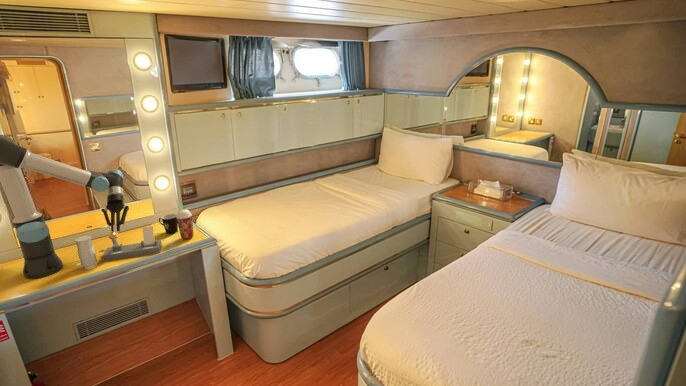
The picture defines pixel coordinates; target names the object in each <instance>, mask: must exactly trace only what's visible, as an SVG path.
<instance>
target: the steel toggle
mask: <svg viewBox="0 0 686 386" xmlns="http://www.w3.org/2000/svg"><path fill="white" fill-rule="evenodd" d="M116 237H117V234H116V233H114V232H112V231H111V232H109V233H108V239H110V240H111V242H112V246H113V245H114V247H115V250H119V245H120V244H119V241H118V240H117V239H118V238H116Z"/></svg>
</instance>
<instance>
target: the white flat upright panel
mask: <svg viewBox="0 0 686 386" xmlns="http://www.w3.org/2000/svg"><path fill="white" fill-rule="evenodd" d="M141 228H142V235H143V236H142V239H143V242H144V245H145V244H152V243H155V239H156V238H155V232H154V231H155V230H154V226H145V227H141Z"/></svg>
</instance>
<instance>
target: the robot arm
mask: <svg viewBox="0 0 686 386" xmlns="http://www.w3.org/2000/svg"><path fill="white" fill-rule="evenodd" d="M22 168H23V169H26V170H30V171H33V172H36V173H40V174H42V175H43V174H44V175H46V176H50V177H52V178H56V179H60V180H63V181H67V182H70V183H73V184H76V185H79V186H82V187H84V188H85V187H86V188H89V189H92V190H93V191H95V192H102V193H103V192H105V191H107V195H106V196H107V197H106V201H107V202H106V203H107V204H106V205H105V208H102V209H101V208H100V209H101V212H102V214H103V217H104V219H105V222H106V225H107V226H109V227H111V229H110V231H111V232H114V233H116V234H117V237H116V239H119V232H120V231H121V225H124V224H125V223H126V222H125V221H126V218H127V214H128V211H129V210H130V207H129V206H128V205H125V203H124V200H125V199H124V174H123V172H122V171H121V170H119V169H110V170H108V171H107V172H101V171H94V170H86V169H82V168H79V167H76V166H72V165H71V164H67V163H65V162H61V161H57V160H54V159H52V158H50V157H45V156H43V155H40V154H37V153H34V152H31V151H30V149H28V148H26V147H23V146H20V144H19V145H18V144H16V141H15V140H14V139H12V138H11V137H10V136H7V135H4V134H0V184H1V186H2V190H3V191H4V193H5V196H6V198H7V202H8V203H9V206H10V208H11V211H12V213H13V216H14V218H13V219H12V224H13V227H14V229H15V233H16V236H15V237H16V238H17V240H18V244H19V247H20V250H21V252H22V257H23V259H24V261H23V268H22V273H23V277H24V278H26V279H40V278H45V277H48V276H51V275H53V274H56V273H58V272H59V271H61V270H62V269H63V268H64V263H63V261H62V260H61V258H60V257H59V256H58V255H57V253H56V251H55V248H54V244H53V240H52V238H51V237H52V236H51V233H50V228H49V226H48V224H47V223H46V221H45V219H44V216H43V213H41V212H39V211H38V210H37V208H36V206H35V203H34V201H33V197H32V195H31V192H30V190H29V187H28V184H27V182H26V180H25V176H24V174H23V171H22ZM108 211H109V213H110V217H109V214H108ZM121 212H122V214H121Z"/></svg>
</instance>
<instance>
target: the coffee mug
mask: <svg viewBox="0 0 686 386" xmlns="http://www.w3.org/2000/svg"><path fill="white" fill-rule="evenodd" d="M176 216H177V213H169V214H164V215H163V216H161V217H159V218H158V222H159V224H161V226H163V227H164V231H165V233H166V235H174V234H176V233H178V232H179V227H178V223H177V219H176Z"/></svg>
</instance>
